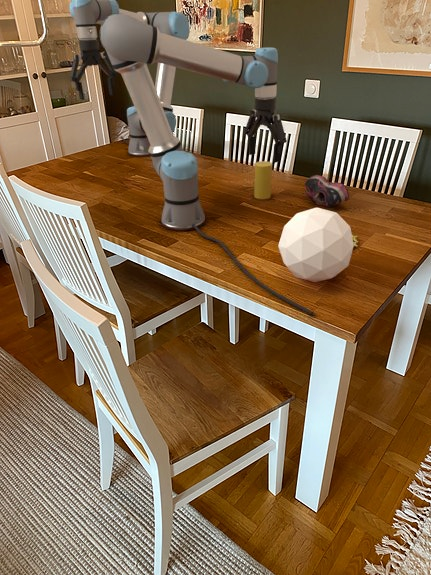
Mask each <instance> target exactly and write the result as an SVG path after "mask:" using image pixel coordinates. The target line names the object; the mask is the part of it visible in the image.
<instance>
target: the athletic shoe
mask: <svg viewBox="0 0 431 575" xmlns="http://www.w3.org/2000/svg"><path fill="white" fill-rule="evenodd" d="M304 187H305V190H306V192H307V193H302V195H304V196H308V197H310V199H311V201H312V202H315V204H316V205H318V206H326V207H327V208H330V207H333V206H336V205H339V204H341V203H344V202H348V201H349V199H350V193H349V190H348V188H347V187H346V186H345V185H344V183H341V182H337V181H335V182H332V183H331V182H330V181H329V179H327V178H326V176H323V175H320V174H314V175H312V176H310V177H309V178H308V179H306V181H305V183H304Z"/></svg>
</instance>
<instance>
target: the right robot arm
mask: <svg viewBox="0 0 431 575" xmlns="http://www.w3.org/2000/svg"><path fill="white" fill-rule="evenodd" d="M99 39H100V43H101V46H102V47H103V49H104V50H105V52H107V54H108V58H109V60H110V62H111V64H112V66H113V68H114V70H115V71H116V72H117V73H119V74H120V75H121V77H122V79H123V82H124V84H125V87H126V89H127V92H128V95H129V97H130V100H131V101H132V104H133V106H135V109H136V111H137V114H138V116H139V118H140V121H141V123H142V126H143V128H144V131H145V133H146V135H147V138H148V140H149V143H150V147H149V150H148V151H149V154H150V155H149V156H150V159H151V161H152V167H153V168H154V171H155V172H156V174H157V175H158V177H159V178H160V180H161V181H162V184H163V194H164V204H163V209H162V213H161V219H160V220H161V225H162V227H163V228H165V229H167V230H170V231H175V232H176V231H177V232H185V231H186V232H187V231H192V230H196V232H197V233H198V234H199V235H200V236H201V237H203V238H205V239H207V240H210V241H212V242H215V243H217V244H219V245H220V247H222V248H223V250H224V251H225V252H226V253H227V254H228V256H229V257H230V258H231V260H232V261H233V262H234V263H235V265H237V266H238V268H240V270H241V271H242V272H243V273H244V274H245V275H246V276H247V277H248V278H249V279H251V280H252V281H253V282H254V283H256V284H257V285H259V286H260V287H261V288H262V289H264V290H266V291H267V292H269V293H270V294H272V295H274V296H275V297H277V298H279V299H280V300H283V301H284V302H286V303H287V304H289V305H292V307H295V308H297V309H299V310H301V311H303V312H305V313H306V314H309V315H313V314H314V312H313V311H312V310H310V309H308V308H306V307H304V306H302V305H300V304H299V303H297V302H294V301H292V300H291V299H289V298H287V297H285V296H284V295H282V294H280V293H278V292H276V291H275V290H273V289H271V288H270V287H268V286H267V285H266V284H264V283H263V282H261V281H260V280H258V279H257V278H256V277H255V276H253V275H252V274H251V273H250V272H249V271H248V270H247V269H246V268H245V267H244V266H243V265H242V264H241V263H240V261H238V260H237V258H236V257H235V256H234V255H233V253H232V252H231V251H230V250H229V248H228V246H226V245H225V244H224V243H223V242H222V241H221V240H219V239H217V238H214V237H211V236H209V235H206V234H204V233H203V231H201V229H200V228H201V227H202V226H203V225H204V224H205V223H206V216H205V212H204V210H203V208H202V204H201V202H200V196H199V175H198V170H199V166H198V162H197V157H196V156H195V155H194V153H192V152H189V151H185V150H184V147H183V146H182V143H181V140H180V137H177V136H175V135H174V134H173V132H172V131H171V128H170V126H169V123H168V120H167V118H166V115H165V112H164V110H163V107H162V104H161V102H160V99H159V96H158V94H157V91H156V88H155V82H154V80H153V77H152V75H151V73H150V70H149V67H148V65H151V66H152V65H153V64H154V63H158V62H159V63H162V64H166V65H170V66H174V67H176V68H178V69H182V70H185V71H190V72H193V73H197V74H201V75H205V76H208V77H213V78H216V79H220V80H222V81H223V82H224V83H232V84H233V83H235V84H238V85H242V86H246V87H248V88H251V89H254V97H255V99H254V109H251V110H249V117H248V120H247V123H246V126H245V128H244V132H243V134H244V135H246V136H247V145H248V156H252V155H255V154H256V143H257V142H256V139H257V138H256V133H257V132H258V130H259V128H260V127H261V126H264V127H266V128H267V129H268V130H269V133H270V134H271V137H272V139H273V141H274V144H273V157H272V158H273V159H272V160H273V163H274V164H276V163H279V162H281V154H282V151H283V144H287V143H288V140H287V137H286V133H285V129H284V125H283V122H282V115H281V113H279V114H275V110H276V109H277V98H276V97H277V91H278V90H277V88H278V68H279V67H278V66H279V65H278V64H279V55H278V54H279V53H278V49H277V48H275V47H258V48H256V49H255V52H254V54H253V55H245V56H244V55H243V56H241V55H238V54H235V53H231V52H229V51H225V50H222V49H217V48H215V47H212V46H207V45H204V44H201V43H197V42H194V41H191V40H188V39H187V40H184V39H180V38H177V37H174V36H170V35H167V34H163V33H160V31H159V29H158V28H157V27H154V26H151V25H148V24H145V23H143V22H141V21H139V20H137V19H135V18H133V17H131V16H129V15H126V14H121V13H116V14H112V15H110V16H108V17H107V18H106V19H105V20H104V21H103V23H102V24H100V29H99Z"/></svg>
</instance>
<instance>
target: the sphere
mask: <svg viewBox="0 0 431 575" xmlns="http://www.w3.org/2000/svg"><path fill="white" fill-rule="evenodd" d="M351 232H352V229H351V226H350V225H349V224H348V222H346V221H345V219H344V218H342V216H340V214H338V212H335V211H333V210H332V211H331V210H328V209H324V208H320V207H313V208H310V209H307V210H303V211H300V212H297V213H296V214H294V216H292V217H291V218H290V219H289V221H288V222H287V223H286V224H284V226H283V228H282V232H281V236H280V239H279V242H278V245H277V247H278V251H279V253H280V256H281V258H282V262H283V264H284V265H285V266H286V267H287V269H288V270H289V271H290V273H291V274H292V275H293V276H294V278H298V279H301V280H304V281H309V282H312V283H318V282H323V281H326V280H330V279H331V280H332V279H333V278H335V277H336V276H338V274H340V273H341V272H342V271H344V270H345V269H346V268H348V266H349V265H350V261H351V258H352V253H353V251H354V250H353V249H354V247H355V246H354V244H353V242H354V240H353V239H352V235H353V233H351ZM353 246H354V247H353Z"/></svg>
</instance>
